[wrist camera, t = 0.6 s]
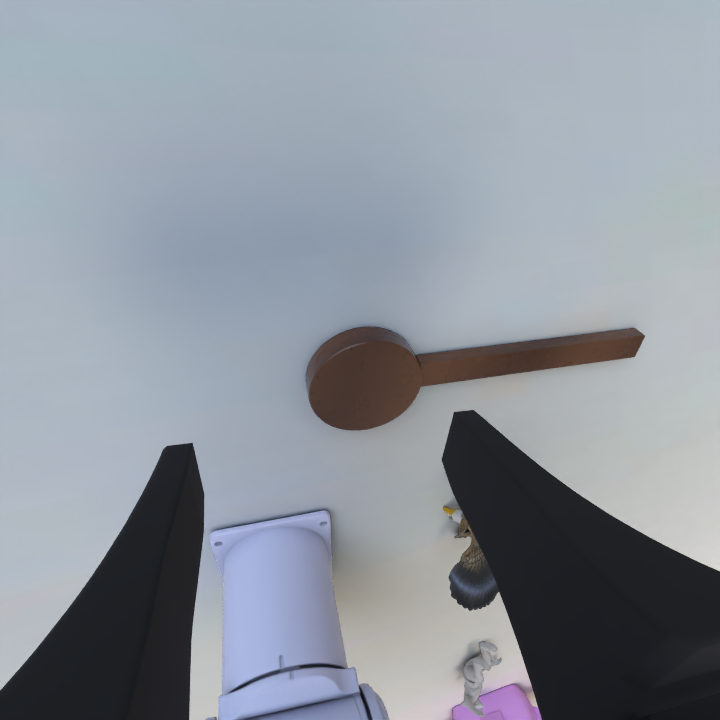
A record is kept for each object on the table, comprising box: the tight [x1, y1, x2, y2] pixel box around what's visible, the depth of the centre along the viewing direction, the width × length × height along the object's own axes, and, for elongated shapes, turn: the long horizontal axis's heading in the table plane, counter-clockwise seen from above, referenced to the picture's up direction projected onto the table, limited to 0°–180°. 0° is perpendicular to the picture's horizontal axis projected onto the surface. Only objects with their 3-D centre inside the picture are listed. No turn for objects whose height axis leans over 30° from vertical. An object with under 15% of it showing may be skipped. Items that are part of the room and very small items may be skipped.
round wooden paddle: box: [306, 327, 645, 430], centre depth 25 cm, size 20×6×1 cm, turn 88°
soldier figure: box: [461, 642, 502, 717], centre depth 56 cm, size 8×5×12 cm
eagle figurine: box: [443, 507, 499, 611], centre depth 32 cm, size 8×7×9 cm
